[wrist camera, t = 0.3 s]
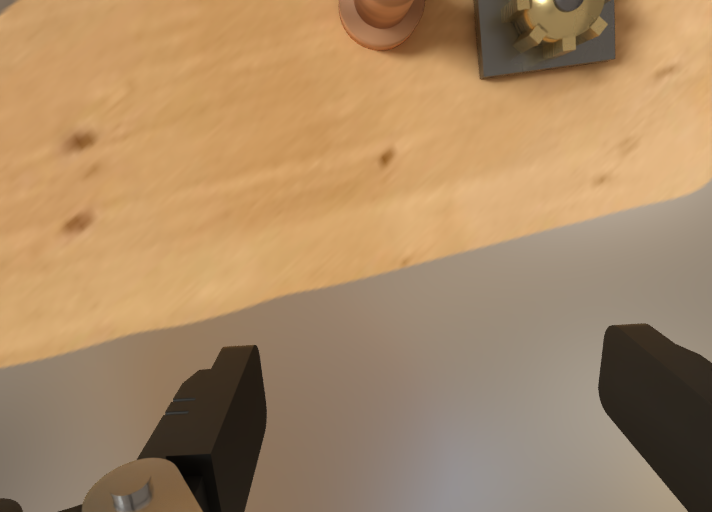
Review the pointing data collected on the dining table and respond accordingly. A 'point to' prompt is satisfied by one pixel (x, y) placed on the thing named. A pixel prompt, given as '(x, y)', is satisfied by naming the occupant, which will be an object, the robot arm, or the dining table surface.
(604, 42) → the carrier plate
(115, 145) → the dining table surface
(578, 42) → the sun gear
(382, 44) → the brown round post
